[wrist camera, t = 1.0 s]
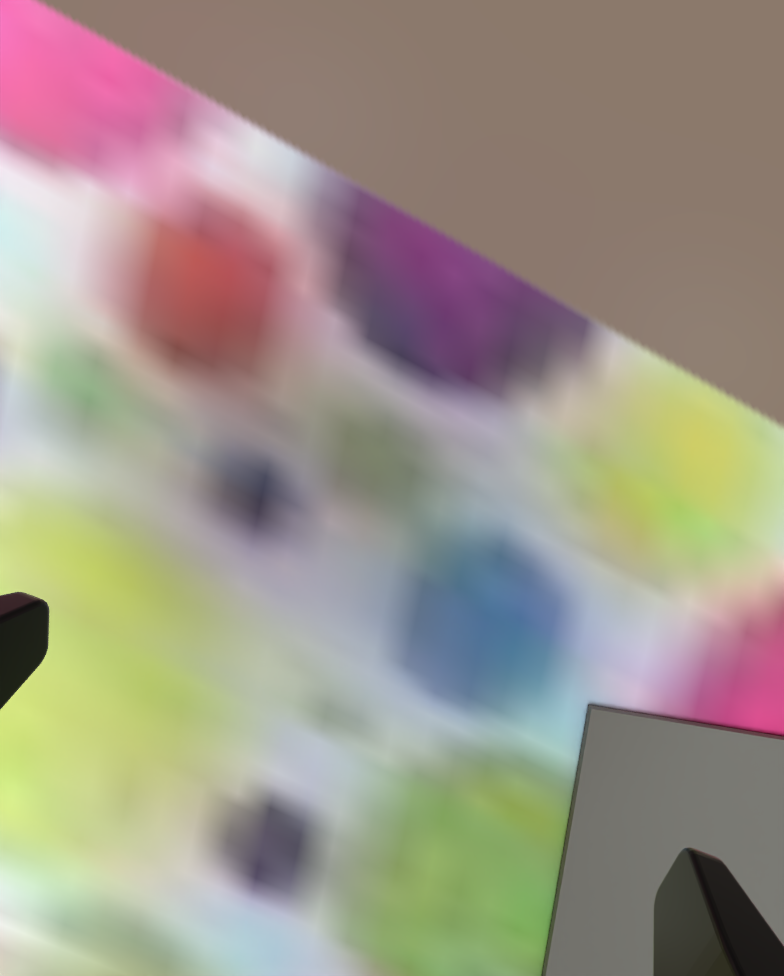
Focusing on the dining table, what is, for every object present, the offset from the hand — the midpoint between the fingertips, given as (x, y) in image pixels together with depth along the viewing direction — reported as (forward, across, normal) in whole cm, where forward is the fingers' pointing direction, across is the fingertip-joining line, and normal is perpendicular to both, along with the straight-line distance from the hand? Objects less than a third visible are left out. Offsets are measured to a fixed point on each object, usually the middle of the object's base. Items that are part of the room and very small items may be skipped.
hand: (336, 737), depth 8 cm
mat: (+14, -14, +14) cm, 24 cm away
